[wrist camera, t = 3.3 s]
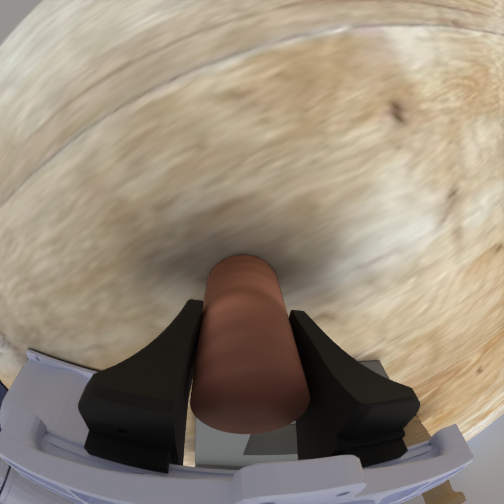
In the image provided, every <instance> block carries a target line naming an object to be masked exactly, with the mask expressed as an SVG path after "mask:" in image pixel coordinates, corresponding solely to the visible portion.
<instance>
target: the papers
mask: <svg viewBox="0 0 504 504" xmlns="http://www.w3.org/2000/svg"><path fill="white" fill-rule="evenodd" d="M7 392H8V391H7V390H6V389H5V388H4V387H3V385H2V384H1V383H0V409H1V405H2V402H3V400H4V398H5V396H6V394H7ZM1 430H2V429H1V425H0V432H1Z"/></svg>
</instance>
